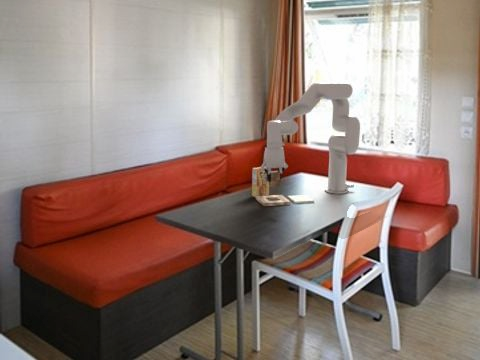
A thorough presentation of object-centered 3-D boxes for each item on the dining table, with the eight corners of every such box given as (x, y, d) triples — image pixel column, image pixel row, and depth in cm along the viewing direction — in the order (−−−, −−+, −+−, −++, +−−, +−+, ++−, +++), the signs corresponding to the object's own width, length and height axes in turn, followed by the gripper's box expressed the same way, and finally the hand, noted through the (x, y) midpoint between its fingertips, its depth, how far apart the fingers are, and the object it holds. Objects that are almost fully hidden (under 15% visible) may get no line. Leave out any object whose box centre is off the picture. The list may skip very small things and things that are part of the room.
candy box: (264, 193, 292) (264, 165, 288) (269, 195, 289) (270, 167, 285) (251, 196, 286) (251, 167, 283) (256, 197, 283) (257, 169, 280)
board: (305, 196, 287) (305, 194, 286) (314, 202, 275) (314, 200, 275) (287, 197, 284) (287, 195, 284) (295, 203, 273) (295, 201, 273)
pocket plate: (281, 197, 284) (281, 194, 284) (290, 204, 271) (290, 201, 271) (255, 199, 281) (255, 196, 281) (263, 206, 268) (263, 203, 267)
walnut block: (277, 184, 277) (277, 170, 275) (279, 186, 273) (280, 172, 271) (268, 184, 276) (268, 171, 274) (271, 186, 272) (271, 173, 270)
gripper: (288, 143, 275) (287, 178, 279) (256, 145, 271) (256, 180, 275) (293, 145, 268) (292, 181, 272) (260, 147, 264) (260, 184, 268)
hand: (274, 180), depth 274 cm, fingers closed on walnut block, 4 cm apart
